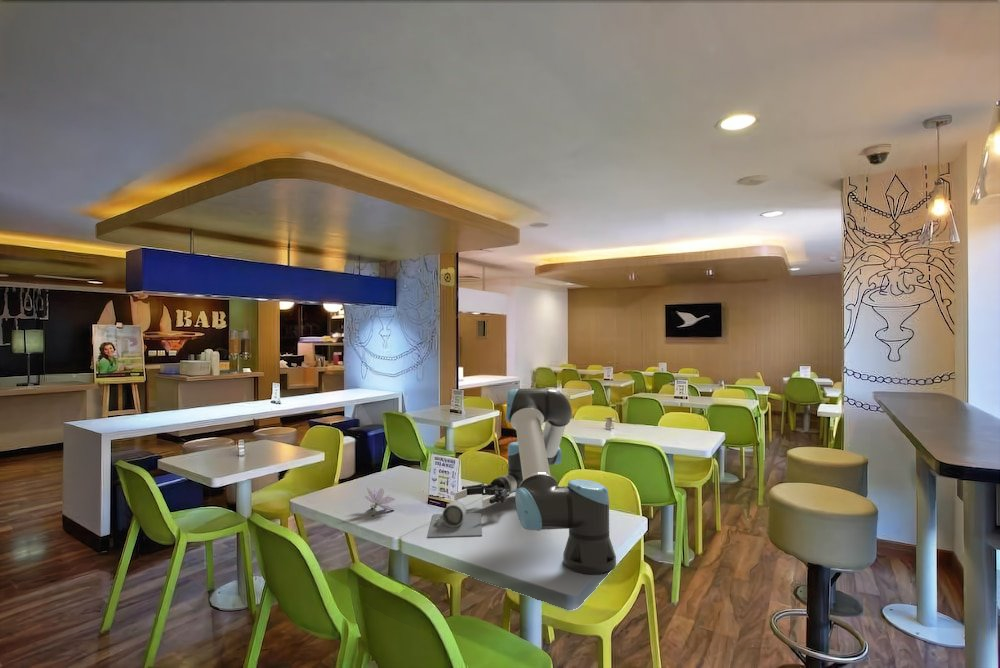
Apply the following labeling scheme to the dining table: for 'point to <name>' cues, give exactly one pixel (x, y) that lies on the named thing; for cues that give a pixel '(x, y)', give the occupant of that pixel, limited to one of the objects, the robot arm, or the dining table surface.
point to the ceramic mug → (453, 514)
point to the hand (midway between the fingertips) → (468, 500)
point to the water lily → (379, 499)
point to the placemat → (465, 529)
